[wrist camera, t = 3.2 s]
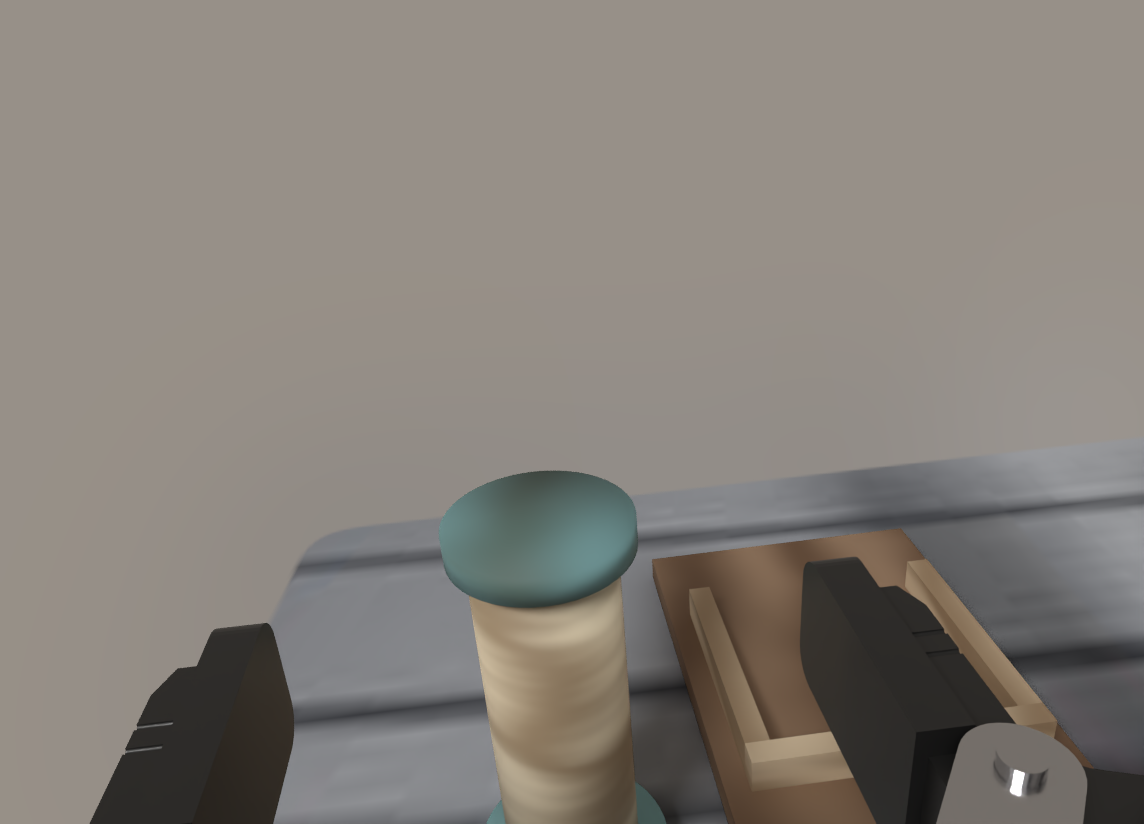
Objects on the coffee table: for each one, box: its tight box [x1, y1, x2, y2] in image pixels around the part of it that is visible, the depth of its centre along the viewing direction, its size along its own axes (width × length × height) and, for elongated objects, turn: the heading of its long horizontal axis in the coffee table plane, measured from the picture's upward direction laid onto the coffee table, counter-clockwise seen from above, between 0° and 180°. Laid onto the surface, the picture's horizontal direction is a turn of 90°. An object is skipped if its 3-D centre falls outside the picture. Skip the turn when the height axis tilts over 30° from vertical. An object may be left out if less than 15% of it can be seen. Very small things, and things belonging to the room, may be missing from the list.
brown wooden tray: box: [652, 528, 1094, 824], centre depth 40 cm, size 14×20×3 cm
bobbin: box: [439, 471, 666, 824], centre depth 30 cm, size 7×7×15 cm
